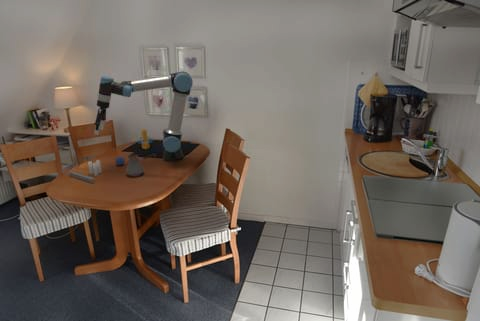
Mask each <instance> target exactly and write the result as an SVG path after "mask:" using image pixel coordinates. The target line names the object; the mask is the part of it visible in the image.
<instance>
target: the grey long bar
mask: <svg viewBox="0 0 480 321" xmlns="http://www.w3.org/2000/svg"><path fill="white" fill-rule="evenodd" d="M68 174H69V176H70V177H71V178H74V179H78V180H80V181H84V182H88V183H90V184H93V183H94V184H95V183H96V180H95V178H94V177H92V176H87V175H85V174H82V173H78V172H76V171H75V172H74V171H70V172H68Z"/></svg>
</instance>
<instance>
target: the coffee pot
mask: <svg viewBox="0 0 480 321" xmlns="http://www.w3.org/2000/svg"><path fill="white" fill-rule="evenodd" d="M153 156H154V157H155V158H156V157H157V154H156V153H151V154H149V155H147V156H144V157H143V158H140V159H138V157H139V155H138V154H130V155H128V156H127V158H128V163H127V166H126V169H125V173H126V174H127V175H128V176H130V177H139V176H141V175H142V174H143V173H144V171H145V169H144V167H143V166H142V164H141V162H140V161H143V160H146V159H148V158H151V157H153Z"/></svg>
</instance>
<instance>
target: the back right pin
mask: <svg viewBox="0 0 480 321" xmlns="http://www.w3.org/2000/svg"><path fill="white" fill-rule="evenodd" d="M92 163H93V162H92V160H91V161H87V166H88V171H89V172H88V173H89V175H94V170H93V164H92Z"/></svg>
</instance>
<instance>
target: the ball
mask: <svg viewBox="0 0 480 321" xmlns="http://www.w3.org/2000/svg"><path fill="white" fill-rule="evenodd" d="M114 162H115V164H116V165H117V166H123V164H124V163H125V158H123V157H122V156H117V157H115V160H114Z"/></svg>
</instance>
